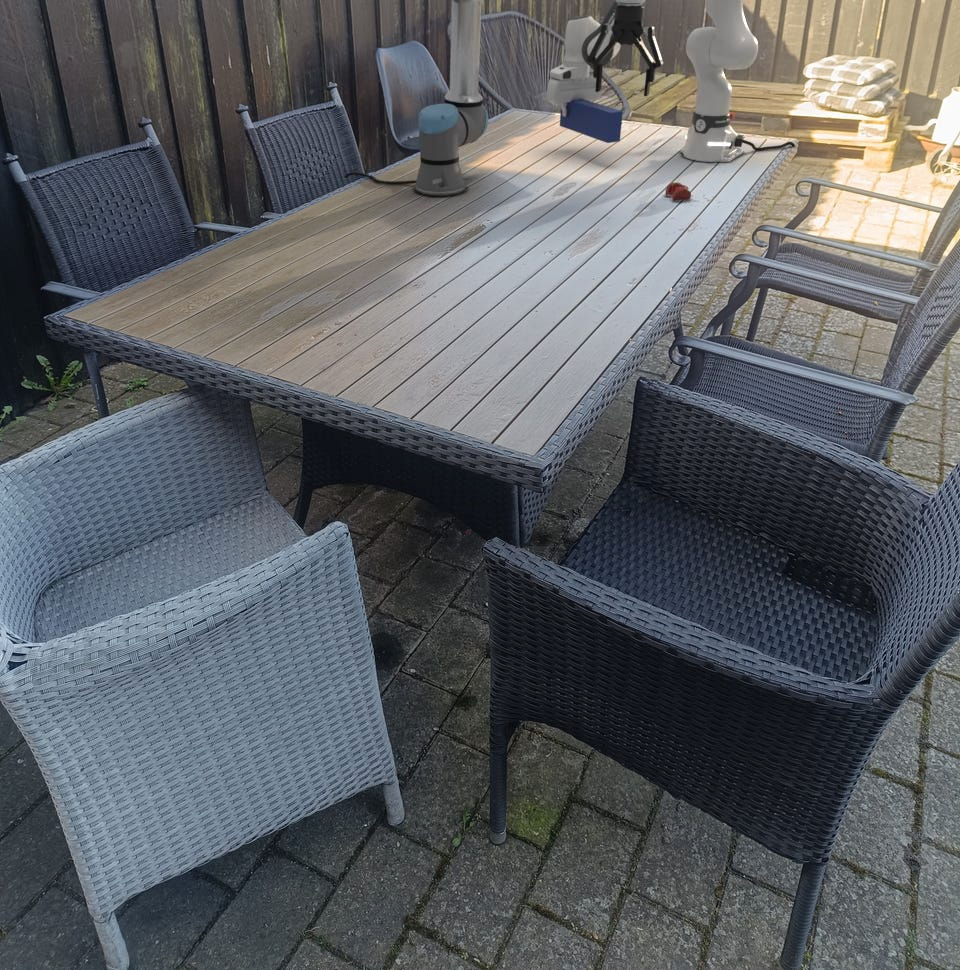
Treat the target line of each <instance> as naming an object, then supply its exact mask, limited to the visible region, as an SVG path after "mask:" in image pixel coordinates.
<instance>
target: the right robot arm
mask: <svg viewBox="0 0 960 970" xmlns="http://www.w3.org/2000/svg"><path fill="white" fill-rule="evenodd" d="M743 2H744V0H705V2H704V3H705V4H704V7H705V11H706V13H707V15H708V16H709V17H710V18H711V20H712V21H713V23H714V26H715V27H713V26H703V27H697V28H695V29H694V30H692V31H691V32H690V34H689V35H688V37H687V40H686V42H685V53H686V56H687V58H688V59H689V60H690V62H691V64H692V66H693V69H694V72H695V78H696V84H697V85H696V100H695V107H694V111H693V113H692V117H691V124H692V125H691V126H689V127H688V130H687V134H686V135H685V138H684V139H685V143H684V147H683V148H681V149H680V153H681V154H683V157H685V158H686V159H689V160H692V161H697V162H706V163H708V162H709V163H714V162H719V163H720V162H721V163H729V162H731V161H732V160H735V159H736V158H738V157H740V156H741V155H742V154H743V153H744V150H743V149H742V146H743V144H745V145H748V146H750V147H751V148H752V150H754V151H758V152H759V151H760V152H761V151H768V150H778V149H782V148H785V147H788V146H791V147H793V148H795V147H796V144H795V143H794V142H793V141H787V142H784V143H782V144H778V145H771V146H770V145H769V146H762V147H757V146H756V145H755V144H754V143H753V142H751V141H748V140H746V139H744V137H745V135H743V134H737V132H736V131H735V130H734V128H733V127H732V126H731V125H730V124H731V120H734V119H735V116H736V114H735V112H730V106H731V100H732V94H733V88H732V85H731V83H730V81H728V79H727V78H726V76H725V72H724V70H730V71H737V70H747V69H748V68H750V67H751V66H752V65H753V64H754V62H755V61H756V59H757V56H758V53H759V43H758V40H757V38H756V37H755V35H754V34H753V33H752V32H751V30H750V28H749V26H748V23H747V20H746V17H745V13H744V5H743ZM616 5H618V3H617V2H616V0H614V1H613V3H612V4H611V6H610V8H609V10H608V12H607V13H606V15H605V16H604V18H603V19H602V21H601V23H599V22H598V21H597V20H595V19H594V17H593V16H592V15H589V14H584V15H578V16H574V17H572V18H570V19H569V20H568V22H567V24H566V29H565V34H564V35H565V36H564V57H563V63H562V64H560V65H558V66H556V67H554V68H553V69H551V70H549V77H550V78H549V80H548V83H547V88H546V89H547V90H546V100H547V102H548V104H549V103H550V104H553V105H557V104H559V107H560V110H561V109H562V110H563V111H562V116H564V117H566V116H568V115H569V111H567V109H566V107H565V106H567V102H571V100H579V99H584V100H588V101H595V100H599V99H600V98H601V97H602V90H601V91H599V92H595V90H596V78H594V77H593V70H594V69H591V68H594V65H593V63H591V62H588V61H587V59H588V57H589V55H590V53H591V51H592V49H593V47H594V45H595V43H596V41H597V39H598V37H599V35H600V33H601V27H602V25H603V24H606V23H607V24H608V25H612V26H613V24H614V16H615V6H616ZM614 37H615V36H614V34H613V32H612V30H611V31H610V32H609V33H608V34H607V35H606V37H605V39H604V41H603V43H602V45H601V47H600V49H599V51H598V53H597V55H596V57H595V58H597V57H598V56H599V55H600V54H601V52H602V51H603V50H604V49H605V48H606V47H607V45H608V44H609V43H610V42H611V40H612V39H613V38H614ZM621 47H622V45H621V44H619V43H617V44H616V45H615V46H614V47H613V48H612V49H611V51H610V52H609V53H608V54H607V55H606V56H605V58H604V59H603V60H602V61H601V62H600V64H603V67H605V66H607V65H608V64H609V63H610V61H612V60H613V59H614V58H615V57H617V55H618V54H619V52H620V50H621Z"/></svg>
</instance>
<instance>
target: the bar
mask: <svg viewBox="0 0 960 970" xmlns="http://www.w3.org/2000/svg"><path fill="white" fill-rule="evenodd" d="M565 107H566V109H567V111H569V115H568V116H566V117H564V116H562V111H563V110H562V109H561V108H560V112H559V113H560V115H559V127H561V128H565V129H567V130H570V131H573V132H576V133H578V134H581V135H584V136H587V137H590V138H592V139H595V140H598V141H601V142H603V143H606V144H610V143H619V142H620V141H621V134H622V125H623V114H624V112H623V110H620V109H618V108H617V109H616V108H613V107H610V106H607V105H604V104H601V103H598V102H594V101H592V100H584V99H579V100H571V102H567V106H565Z"/></svg>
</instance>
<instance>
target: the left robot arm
mask: <svg viewBox="0 0 960 970" xmlns="http://www.w3.org/2000/svg"><path fill="white" fill-rule="evenodd" d="M482 2H483V0H451V7H450V8H451V10H450V53H449V54H450V56H449V57H450V59H449V61H450V63H449V90H448V92H447V93H446V94H445V95H444V103H436V104H430V105H428V106H425V107H424V108H422V109H421V110H420V112H419V114H418V126H417V127H418V134H419V135H418V136H419V138H418V139H419V157H420V158H419V159H420V161H419V162H420V164H419V168H418V172H417V176H416V179H415V180H395V181H392V180H381V179H378V178H376V177H375V176H373V175H372V174H368V173H364V172H359V171H350V172H348V173H346V174H345V175H344V176H343V178H345V179H346V178H348V177H350V176H355V175H357V176H360V177H365V178H368V179H372V181H374V182H375V183H378V184H383V185H409V184H411V185H412V184H415V192H417V193H418V194H420V195H424V196H430V197H450V196H455V195H459V194H461V193H463V192H464V191H466V181H465V179H464V176H463V172H462V169H461V165H460V148H462V147H464V146H466V145H468V144H472V143H474V142H476V141H478V139H480V138H481V137H483V136H484V134H485V133H486V131H487V129H488V125H489V114H488V110H487V109H486V108H485V107H486V106H485V105H484V103H483V102H484V98H483V96H482V95H481V94H480V92H479V78H480V77H479V76H480V55H481V54H480V51H481V49H480V48H481V29H482V28H481V25H482V24H481V23H482ZM616 2H617V3H618V5H616V6H615V16H614V24H613V26H612V25H608V24H607V23H606V24H603V25H602V27H601V33H600V35H599V37H598V39H597V41H596V43H595V45H594V47H593V49H592V51H591V53H590V55H589V57H588V59H587V61H588V62H591V63H593V65H594V67H593V69H592V70H593V77H594V78H596V90H595V92H599V91H601V92H602V80H603V69H604V66H603V64H600V62H601V61H602V60H603V59H604V58H605V56H606V55H607V54H608V53H609V52H610V51H611V49H612V48H613V47H614V46H615V45H616V44H617V43H619V44H621V46H623V45H627V46H632V45H634V46H635V48H637V50H638V52H639V53H640V54H641V57H642V58H643V60H644V61H645V63H646V64H647V67H648V68H646V70H645V82H644V89H643V97H648V96H649V95H650V91H651V90H650V89H651V83H654V81H655V79H656V69H658V68H661V67H662V66H663V65H664V60H663V57H662V55H661V51H660V48H659V45H658V41H657V38H656V34H655V32H656V29H655V26H654V25H651V26H647V27H646V26H644V16H645V6H644V4H645V3H646V0H616ZM611 30H612V32H613V34H614V36H615V37H614V38H613V39H612V40H611V42H610V43H609V44H608V45H607V47H606V48H605V49H604V50H603V51H602V52H601V54H600V55H599V56H598V57H597V58H595V57H596V55H597V53H598V51H599V49H600V47H601V45H602V43H603V41H604V39H605V37H606V35H607V34H608V33H609V32H610V31H611ZM643 34H644V35H645V36H646V37H647V39H648V43H649V47H650V50H651V53H652V55H653V57H652V55H651V53H650V52H649V50H648V49H647V47H646V45H645V44H644V41H643V39H642V37H641V36H642V35H643ZM369 175H370V176H369Z"/></svg>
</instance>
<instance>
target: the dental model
mask: <svg viewBox="0 0 960 970" xmlns="http://www.w3.org/2000/svg"><path fill="white" fill-rule="evenodd" d="M665 196H672V197H671V200H672V201H673V202H674V201H685V200H686V201H687V200H691V198H692V193H691V191H690V189H689V186H687V185H685V184H682V183H681V182H678V181H677V182H675V181H673V182H671V183H669V184H668V185H667V187H666V188H665Z"/></svg>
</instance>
